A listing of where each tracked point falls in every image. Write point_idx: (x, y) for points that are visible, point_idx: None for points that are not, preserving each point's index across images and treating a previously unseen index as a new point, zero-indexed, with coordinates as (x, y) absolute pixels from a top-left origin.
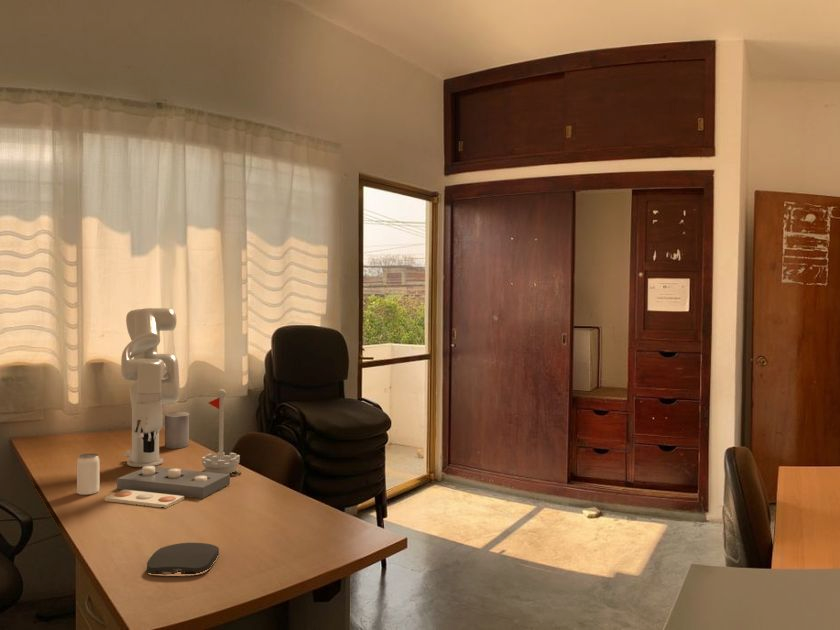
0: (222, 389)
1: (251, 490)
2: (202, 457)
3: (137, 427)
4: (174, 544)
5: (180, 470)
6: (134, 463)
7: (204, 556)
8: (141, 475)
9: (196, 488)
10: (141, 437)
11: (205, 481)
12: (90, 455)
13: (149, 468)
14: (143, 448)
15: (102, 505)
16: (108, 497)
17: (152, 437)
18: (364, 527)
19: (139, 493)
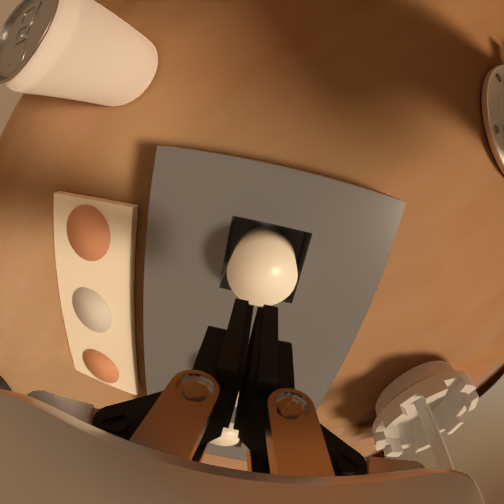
0: None
1: (240, 467)
2: (437, 393)
3: (20, 479)
4: (2, 389)
5: (235, 406)
6: (495, 92)
7: None
8: (224, 241)
9: None
10: (116, 406)
11: None
12: (40, 19)
13: (241, 287)
14: (231, 313)
15: (37, 209)
16: (57, 203)
17: (251, 452)
18: None
19: (109, 282)
